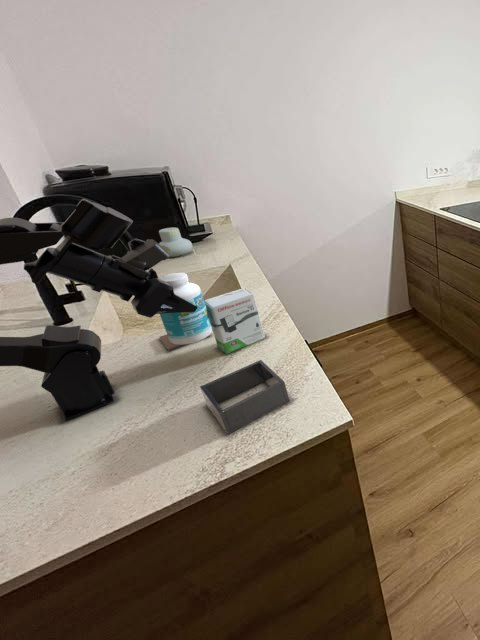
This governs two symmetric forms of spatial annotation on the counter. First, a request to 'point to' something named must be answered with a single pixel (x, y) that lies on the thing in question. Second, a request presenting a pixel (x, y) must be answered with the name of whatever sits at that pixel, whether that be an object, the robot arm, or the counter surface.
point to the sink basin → (250, 406)
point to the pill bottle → (186, 313)
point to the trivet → (169, 344)
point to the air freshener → (174, 242)
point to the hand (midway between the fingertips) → (189, 303)
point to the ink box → (234, 320)
